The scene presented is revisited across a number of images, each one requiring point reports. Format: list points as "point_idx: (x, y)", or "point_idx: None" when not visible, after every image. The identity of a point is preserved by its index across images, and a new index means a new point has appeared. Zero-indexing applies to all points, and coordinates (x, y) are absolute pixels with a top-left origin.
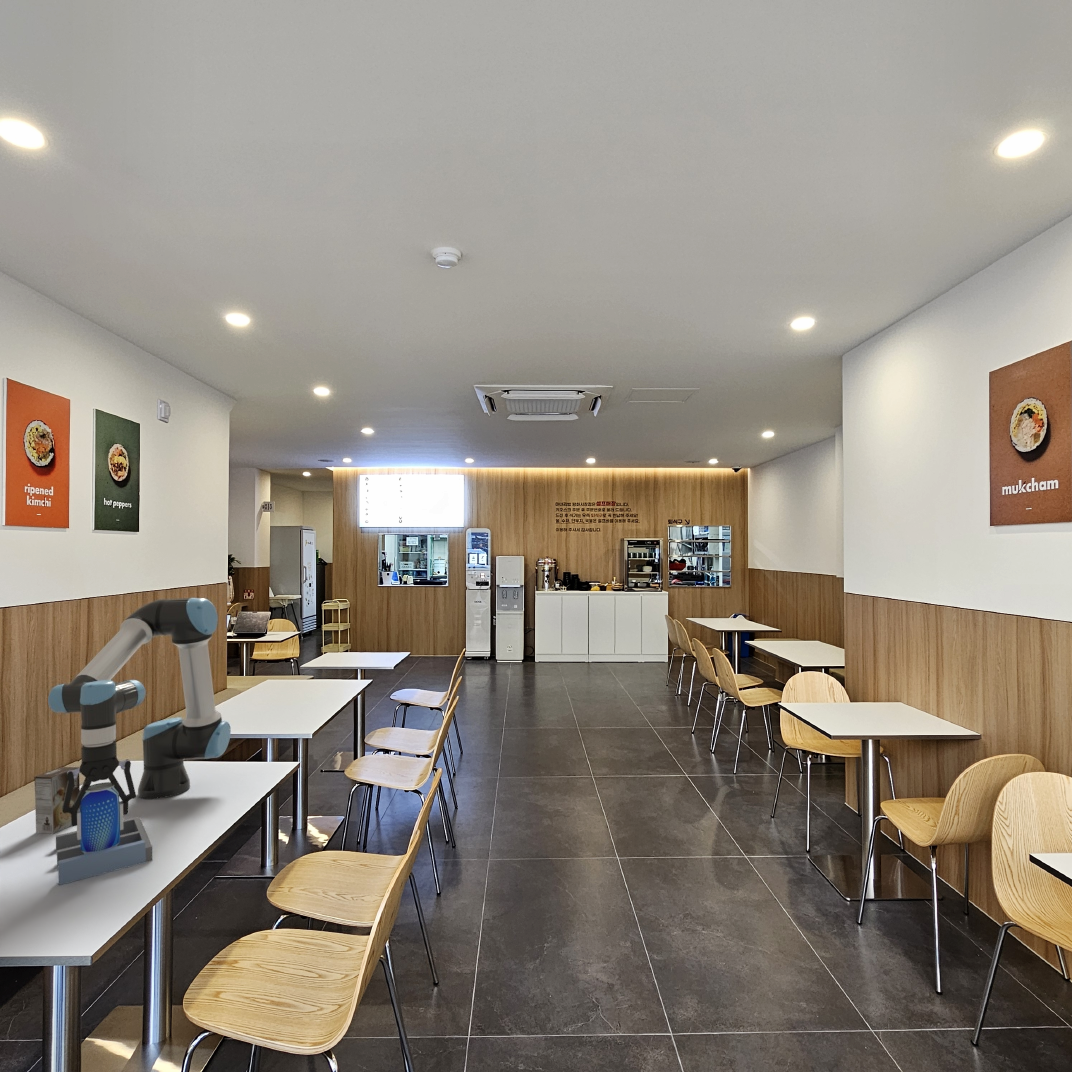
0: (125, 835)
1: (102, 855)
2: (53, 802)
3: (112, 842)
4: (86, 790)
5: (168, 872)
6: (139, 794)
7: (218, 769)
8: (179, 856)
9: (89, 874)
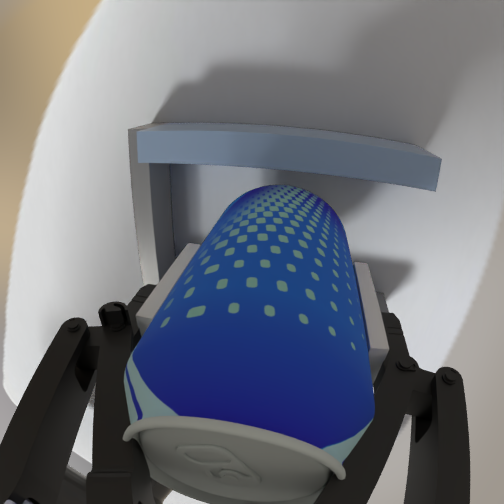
0: None
1: (291, 133)
2: None
3: (242, 198)
4: (337, 479)
5: (130, 4)
6: None
7: (88, 453)
8: (90, 104)
9: (334, 132)
